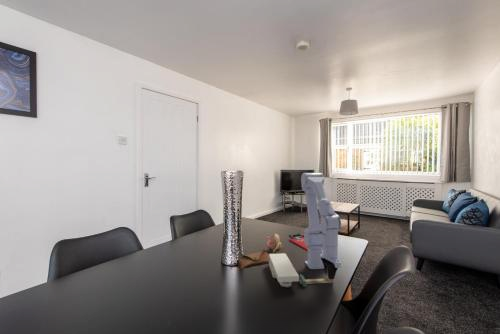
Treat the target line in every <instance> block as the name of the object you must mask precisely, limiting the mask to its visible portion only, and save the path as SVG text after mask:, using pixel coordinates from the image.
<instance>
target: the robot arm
mask: <svg viewBox="0 0 500 334" xmlns="http://www.w3.org/2000/svg"><path fill="white" fill-rule="evenodd" d="M300 181H301V182H300V183H301V191H303V192H305V197H306V198H305V199H306V208H307V209H306V210H307V219H308V226H307V227H306V228H305V229H304V231H303V236H304V242H305V245H306V246H307V247H308V251H307V260H305V261H304V263H305V264H306V266H307V267H308V269H310V270H323V269H324V273H325V276H326V277H327V272H328V278H329V279H333V280H334V279H335V276H336V274H337V271H338V269H341V265H342V262H341V261H340V259H339V258H340V257H339V255H338V252H339V251H338V249H339V247H338V246H339V245H338V243H339V236H338V235H339V229H341V227H342V226H341V225H342V221H341V220H342V219H341V217H340V216H339V214H337V213H336V212H335V210H334V208H333V206H332V203H331V200H329V199H327V196H326V192H325V188H324V185H325V175H324V174H323V172H303V173H302V174H301V177H300ZM317 200H318V201H317ZM319 214H320V218H319Z"/></svg>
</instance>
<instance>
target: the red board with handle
mask: <svg viewBox="0 0 500 334" xmlns="http://www.w3.org/2000/svg"><path fill="white" fill-rule="evenodd" d="M288 236H289V237H291V239H288V241H289V242H290V241H291V243H292V244H294V245H296V246H297V245H298V246H297V247H300V248H301V249H303V250H305V251H307V252H308V247H307V246H306V245H305V242H304V234H301V233H294V234H289V235H288Z"/></svg>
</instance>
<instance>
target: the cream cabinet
mask: <svg viewBox="0 0 500 334" xmlns="http://www.w3.org/2000/svg"><path fill="white" fill-rule="evenodd" d="M268 255H269V263H268V266H269V270H270V272H271V276H272V278H273V279H276V280H277V282H278V283H279V282H292V283H293V282H300V280H299V275H300V274H298V272H297V270H296V269H295V267H294V265H293V264H292V262H291V260H290V259H289V257H288V255H287V253H286V252H285V253H268Z"/></svg>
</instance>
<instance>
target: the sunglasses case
mask: <svg viewBox="0 0 500 334" xmlns="http://www.w3.org/2000/svg"><path fill="white" fill-rule="evenodd" d="M240 255H241V256H242V257H241V258H239V259H238V260H237V264H236V265H237V267H239V268H240V269H241V270H243V269H246V268H250V267H255V266H260V265H266V264H269V253H268V252H267V250H263V251H259V252H258V251H257V252H251V253H247V254H240Z"/></svg>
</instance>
